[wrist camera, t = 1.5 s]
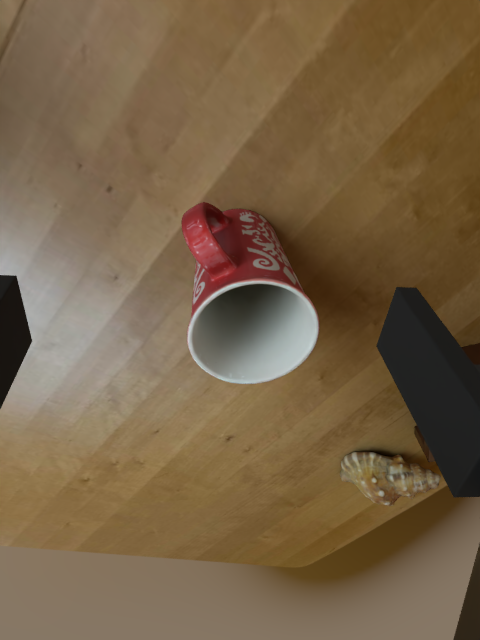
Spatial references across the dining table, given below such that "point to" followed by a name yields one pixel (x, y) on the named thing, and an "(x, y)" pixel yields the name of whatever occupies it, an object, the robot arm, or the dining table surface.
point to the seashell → (386, 476)
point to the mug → (245, 298)
